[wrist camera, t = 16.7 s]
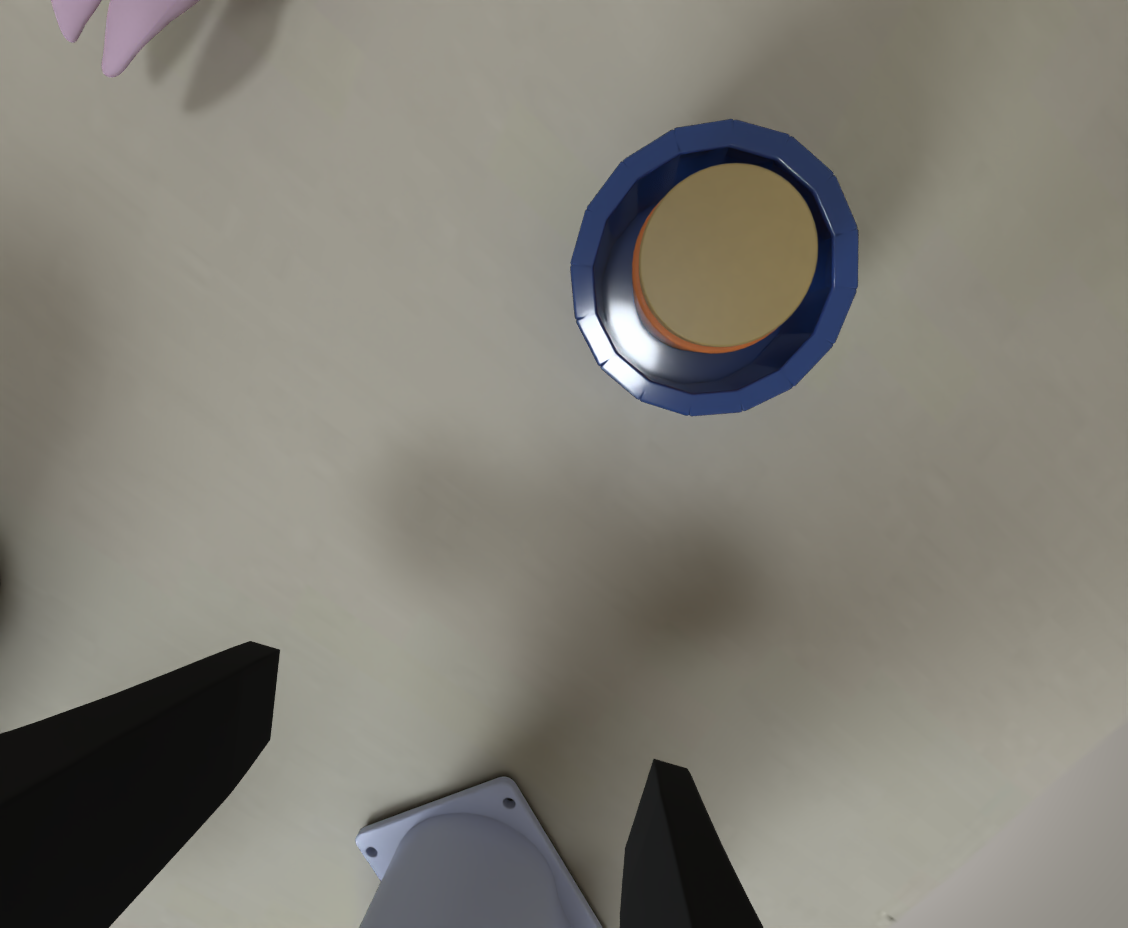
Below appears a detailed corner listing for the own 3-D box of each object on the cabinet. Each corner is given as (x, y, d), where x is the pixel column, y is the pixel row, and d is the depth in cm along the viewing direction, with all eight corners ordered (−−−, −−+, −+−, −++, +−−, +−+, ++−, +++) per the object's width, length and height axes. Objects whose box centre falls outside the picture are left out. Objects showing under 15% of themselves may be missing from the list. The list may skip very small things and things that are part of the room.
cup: (841, 336, 17) (904, 334, 13) (644, 434, 19) (646, 459, 15) (749, 128, 16) (786, 56, 12) (549, 248, 18) (523, 220, 14)
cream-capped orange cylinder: (779, 313, 17) (858, 296, 11) (666, 371, 18) (681, 386, 12) (726, 198, 16) (778, 112, 10) (612, 263, 17) (598, 220, 11)
